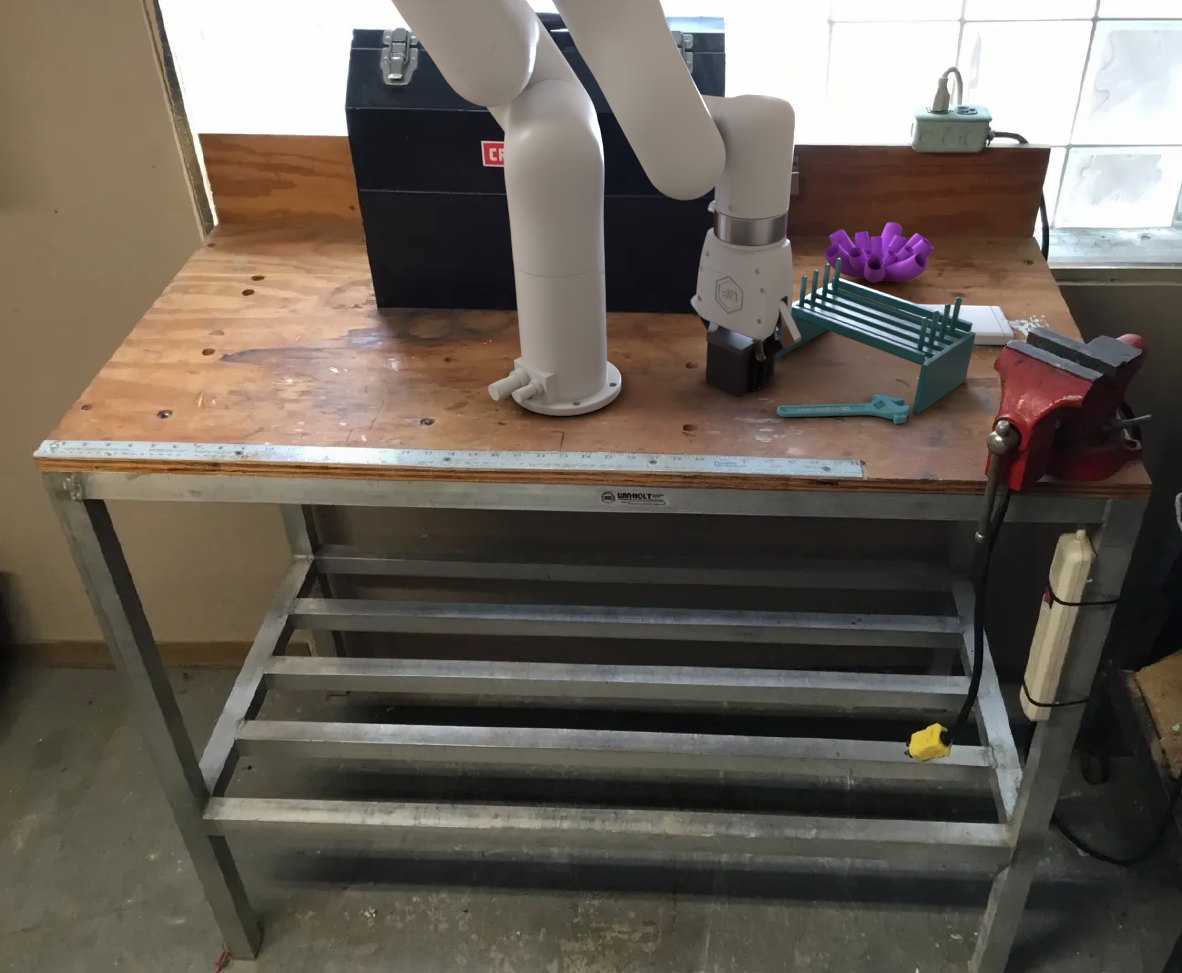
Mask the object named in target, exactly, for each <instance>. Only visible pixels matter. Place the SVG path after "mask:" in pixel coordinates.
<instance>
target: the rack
mask: <svg viewBox="0 0 1182 973" xmlns="http://www.w3.org/2000/svg"><path fill="white" fill-rule="evenodd" d="M841 262H842V260H841V259H840V258H838V259H837V260H836V267H835V269H834V277H832V279H831V283H830V274H831V265H830V264H829V263H826V264H825V265H824V272H823V279H822V280H823V282H822V287H820V288H818V284H819V276H820V271H819V270H818V269H814V270H813V273H812V274H813V275H812V282H811V292H810V293H809V294H807V285H808V284H807V282H808V276H806V275H802V276H801V280H800V281H801V282H800V291H799V299H798V300H796V301H793V302H792V312H791V316H792V318H793V320H794V322H795V324H796V326H797V329H798V331H799V333H800V335H801V341H799V342H797V343H796V344H794V345H792V346H790V347H787V348H785V349H782V350H781V351H779V352H778V353H776V358H778V359H779V358H781V357H782V356H784V355H787V354H788V353H790V352H792V351H794V350H795V349H797V348H799V347H800V346H802V345H804V344H806V343H807V342H809V341H811V340H813V339H815V338H816V337H818V336H820V335H821V334H823V333H825V332H826V331H829V332H832V333H834V334H837V335H840V336H842V337H845V338H847V339H850V340H853V341H854V342H858V343H861V344H863V345H866V346H869V347H871V348H874V349H877V350H880V351H882V352H884V353H887V354H890V355H892V356H895V357H898V358H899V359H900V358H901V359H903V360H906V361H908V362H911V363H914V364H916V365H919V366H920V371H919V376H918V382H917V387H916V392H915V397H914V403H913V407H912V414H913V415H917V416H918V415H919V414H920V413H922V412H923V411H925V410H926V409H928V408H929V407H930V406H932V405H933V404H935V403H936V402H937V401H939V400H940V399H942V398H943V397H944V396H946V395H947V394H950V392H951V391H953V390H954V389H956V388H958V387H959V386H960V385H962V384H963V383H964V382H965V381H966V380H967V374H968V370H969V366H970V361H971V357H972V352H973V347H974V344H973V343H974V339H975V334H976V333H974V332H970V331H971V328H972V323H971V322H968V321H965V320H962V319H959V318H958V316H959V311H960V306H961V305H962V302H963V298H962V297H961V296H957V297H956V298H955V302H954V305H955V306H954V311H953V316H951V315H949V314H950V309H951V305H952V304H951V303H946V304H944V305H945V308H944V313H942V312H939V311H938V310H933V309H930V308H927V307H924V306H921V305H918V304H919V303H915V302H912V301H909V300H906V299H902V298H900V297H896V296H895V295H891V294H888V293H886V292H885V293H884V292H882V291H879V290H876V289H874V288H871V287H868V286H864V285H861V284H858V283H856V282H852V281H849V280H846V279H843V278H840V276H841V273H840V270H841ZM806 294H807V295H806ZM896 308H898V309H896ZM899 309H901V310H904V311H906V312H904V311H901V310H899ZM907 312H909V313H907ZM910 313H912V314H910ZM913 314H915V315H913ZM916 315H918V316H916ZM919 316H921V317H919ZM896 317H897V318H896ZM922 317H924V318H922ZM898 318H900V319H898ZM901 319H902V320H901ZM928 319H930V320H932V321H930V320H928ZM904 320H905V321H904ZM907 321H908V322H907ZM910 322H911V323H910ZM913 323H914V324H913ZM939 323H941V324H939ZM916 324H917V325H916ZM918 325H920V326H918ZM948 326H950V327H948ZM776 328H777V329H779V328H778V327H776ZM900 328H902V329H900ZM927 328H928V329H927ZM903 329H905V330H903ZM930 329H931V330H930ZM957 329H959V330H962V331H965V332H968V333H965V332H962V331H959V330H957ZM906 330H907V331H906ZM909 331H910V332H909ZM936 331H937V332H936ZM912 332H913V333H912ZM938 332H939V333H938ZM914 333H916V334H914ZM917 334H919V335H917ZM947 335H948V336H947ZM950 336H951V337H950ZM780 337H782V333H781V331H780V329H779V335H778V338H780ZM926 337H927V338H926ZM953 337H954V338H953ZM928 338H929V339H928ZM956 338H957V339H956ZM904 339H906V340H904ZM958 339H959V340H958ZM907 340H909V341H907ZM910 341H911V342H910ZM937 341H938V342H937ZM913 342H914V343H913ZM940 342H941V343H940ZM942 343H944V344H942Z"/></svg>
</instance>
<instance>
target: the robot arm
mask: <svg viewBox="0 0 1182 973" xmlns="http://www.w3.org/2000/svg"><path fill="white" fill-rule="evenodd" d="M390 1H391V2H392V4H393V5H394V7H395V8H396V10H397V12H398V13H399V15H400V16H401V18H402V19H403V21H404V22H405V23H406V24H407V26H408V27H409V29H410V30H411V32H412V33H413V34H414V37H416V39H417V40H418V42H420V44H421V46H422V47H423V48H424V50H425V51H426V53H427V54H428V55H429V57H430V58H431V60H432V61H433V62H434V64H435V66H436V67H437V69H438V70H439V72H440V73H441V75H442V77H443V78H444V79H445V81H446V82H447V84H448V85H449V86H450V87H451V88H452V90H454V92H455V93H457V94H458V95H459V96H460V97H461V98H463V99H464V100H466V101H468V102H470V103H471V104H474V105H476V106H480V107H486V109H487V110H488V111H489V113H490V114H491V116H492V117H493V118H494V119H495V121H496V122H497V124H498V125H499V126H500V128H501V130H502V131H503V132H504V140H503V141H504V142H503V171H504V172H503V173H504V174H503V175H504V184H505V191H506V192H505V193H506V199H507V208H508V215H509V227H510V238H511V249H512V250H511V251H512V261H513V262H512V263H513V270H514V281H515V282H514V283H515V295H516V308H517V320H518V331H519V344H520V354H521V355H520V357H517V358H516V359H514V360H513V366H514V370H512V371H510V372H509V374H508V376H507V377H504V378H501V379H499V380H497V381H495V382H493V383H490V384H489V385H488V386H487V390H488V393H489V396H490V397H491V399H492V400H494V401H496V402H498V401H500V400H502V399H504V398H506V397H509V396H510V395H511V397H512V398H513V400H514V402H516V403H517V404H518V405H520V406H521V407H523V408H524V409H526V410H528V411H531V412H534V413H537V414H540V415H541V414H542V415H547V416H555V417H556V416H558V417H566V416H567V417H568V416H569V417H570V416H571V417H572V416H577V415H584V414H588V413H592V412H594V411H597V410H600V409H602V408H603V407H605V406H608V405H609V404H610V403H612V402H614V400H615V399H616V398H617V397H618V396H619V394H620V393H621V390H622V375H621V372H620V370H619V369H618V368H617V367H616V366H615V365H614V364H613V363H612V362H609V361H608V349H607V347H608V344H607V343H608V342H607V341H608V340H607V307H606V306H607V303H606V302H607V301H606V265H605V264H606V263H605V262H606V261H605V259H606V258H605V234H604V233H605V229H604V228H605V227H604V226H605V225H604V224H605V222H604V219H605V218H604V210H605V208H604V207H605V206H604V204H605V203H604V202H605V156H604V155H605V154H604V146H603V140H602V138H603V137H602V134H601V128H600V125H599V122H598V121H599V120H598V116H597V115H598V114H597V112H596V109H595V105H594V103H593V101H592V99H591V97H590V94H589V93H588V92H587V90H586V88H585V87H584V85H583V84H582V82H581V80H580V79H579V78H578V75H577V74H576V72H575V71H574V70H573V68H572V67H571V65H570V63H569V62H568V61H567V59H566V57H565V56H564V55H563V53H562V51H561V50H560V48H559V47H558V45H557V44H556V42H555V41H554V39H553V38H552V36H551V35H550V33H549V31H548V30H547V29H546V27H545V26H544V24H543V22H542V21H541V19H540V17H539V16H538V15H537V13H536V12H535V10H534V8H533V7H532V5H531V4H530V3H529V2H528V1H527V0H390ZM551 1H552V2H553V5H554V6H555V8H556V10H557V12H558V14H559V16H560V18H561V20H562V21H563V23H564V25H565V28H566V29H567V31H568V33H569V35H570V37H571V39H572V40H573V43H574V45H575V47H576V49H577V51H578V53H579V55H580V56H581V58H582V60H583V61H584V62H585V64H586V66H587V67H588V69H589V70H590V72H591V73H592V76H593V77H594V79H595V81H596V82H597V85H598V86H599V88H600V90H601V92H602V94H603V96H604V98H605V99H606V101H607V103H608V106H609V107H610V109H611V111H612V113H613V115H614V117H615V119H616V121H617V123H618V124H619V126H620V128H621V130H622V132H623V134H624V136H625V137H626V139H627V142H628V143H629V145H630V147H631V148H632V150H633V153H634V154H635V156H636V158H637V160H638V161H639V163H640V165H641V167H642V169H643V170H644V172H645V174H646V176H647V178H648V179H649V181H650V182H651V184H652V186H654V188H656V189H657V191H659V192H660V193H661V194H663V195H664V196H666V197H669V198H671V199H672V200H673V199H674V200H678V201H690V200H691V201H692V200H695V199H699V198H701V197H703V196H705V195H706V194H709V193H710V192H711V191H712V190H713V189H714V200H712V201H711V202H710V203H709V204H708V206H707V207H708V208H707V211H708V213H709V214H711V215H713V227H711V228H709V229H708V230H707V232H706V236H705V238H704V242H703V246H702V250H701V254H700V260H699V265H698V266H699V267H698V271H697V272H698V274H697V283H696V292H695V294H694V295H693V296H692V298H690V304H691V307H693V309H694V310H695V311H696V313H697V314H698V316H699V319H700V321H701V323H702V324H703V326H704V328H705V329H706V331H707V332H706V336H707V335H708V334H710V333H712V332H714V331H716V330H718V329H720V328H722V327H724V328H726V329H729V330H731V331H734V332H736V333H739V334H741V335H744V336H746V337H749V338H752V339H753V345H754V352H755V357H754V358H752V359H751V361H750V374H749V390H750V391H751V392H756V391H758V390H760V389H762V388H763V387H765V386H766V385H768V384H769V383H770V382H771V381H772V379H773V377H772V368H773V357H774V354H776V353H778V352H779V351H781V350H782V349H785V348H787V347H790V346H792V345H794V344H796V343H797V342H799V341H801V335H800V333H799V331H798V329H797V326H796V324H795V322H794V320H793V318H792V316H791V312H792V303H793V298H794V296H793V295H794V267H793V265H794V264H793V254H792V252H793V251H792V246H791V241H790V240H789V239H788V238H787V233H788V232H787V231H788V219H789V207H790V197H791V185H792V174H793V173H792V172H793V162H794V152H795V141H796V130H797V128H796V127H797V112H796V108H795V106H794V104H793V103H792V102H791V101H790V100H789V99H787V98H785V97H782V96H779V95H775V94H771V93H770V94H769V93H745V94H741V95H736V96H733V97H726V96H715V95H708V94H701V93H700V91H699V89H698V88H697V84H696V83H695V81H694V78H693V77H692V75H691V73H690V70H689V69H688V66H687V64H686V62H685V60H684V58H683V56H682V53H681V51H680V49H679V47H678V44H677V43H676V40H675V38H674V35H673V33H672V30H671V28H670V26H669V22H668V20H667V18H666V14H665V11H664V8H663V5H662V2H661V0H551ZM777 327H778V328H779V329H780V331H781V333H782V337H780V338H778V336H777V329H776V328H777ZM764 339H766V340H767V346H765V341H764Z"/></svg>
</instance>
